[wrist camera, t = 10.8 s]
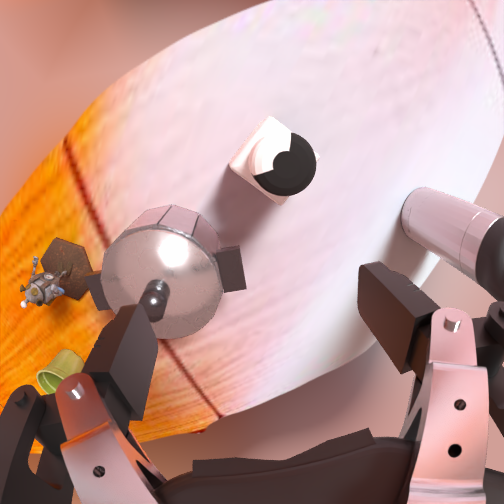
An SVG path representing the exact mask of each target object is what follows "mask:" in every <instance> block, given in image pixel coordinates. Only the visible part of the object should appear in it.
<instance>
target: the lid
mask: <svg viewBox="0 0 504 504" xmlns="http://www.w3.org/2000/svg"><path fill="white" fill-rule="evenodd" d="M102 287H103V292H104V295H105V298H106V300H107V302H108V304H109V306H110V307H111V309H112V311H113V312H114V313H115V314H116V315H117V313H118V311H119V309H120V307H121V306H124V305H131V304H139V303H140V304H142V305H143V307H144V308H145V311H146V313H147V316H148V318H149V321H150V323H151V326H152V328H153V331H154V333H155V336H156V338H160V339H176V338H182V337H185V336H188V335H191V334H193V333H195V332H197V331H198V330H200V329H201V328H203V327H204V326H205V325H206V324H207V323H208V322H209V321H210V319H211V318H212V316H213V315H214V313H215V311H216V309H217V306H218V302H219V278H218V274H217V271H216V268H215V266H214V264H213V262H212V260H211V259H210V257H209V256H208V254H207V253H206V252H205V251H204V250H203V249H202V248H201V247H200V246H199V245H198V244H197V243H196V242H194V241H193V240H192V239H190V238H188V237H186V236H185V235H183V234H180V233H178V232H175V231H171V230H168V229H161V228H149V229H142V230H139V231H135V232H133V233H131V234H129V235H127V236H126V237H124V238H123V239H121V240H120V241H119V242H118V243H117V244H116V245H115V246H114V247H113V249H112V250H111V251H110V252H109V254H108V256H107V258H106V260H105V262H104V265H103V270H102Z"/></svg>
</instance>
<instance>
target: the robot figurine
mask: <svg viewBox="0 0 504 504" xmlns="http://www.w3.org/2000/svg"><path fill="white" fill-rule="evenodd" d="M33 258H34V261H32V262H33V264H34V265H33V266H34V267H33V272H32V276H31V278H30V280H29V284H28V285H27V286H26V288H25V287H24V286H23V285H21V286H20V292H22V291H25V295H26V298H27V299H26V300H25V301H22V302H21V306H22V307H23V308H26V307H27V303H28V302H31V303H34V304H35V303H36V305H37V306H42V305H43V303H44V304H46V305H48V306H50V304H51V303H52V302H53V301H54V299H55V298H56V297H57V296H62V294H64V295H66V296H69V297H71V298H74V299H77V300H79V298H80V297H81V296H82V295H83V293H84V292H85V291H86V290H87V289H88V285H87V283H86V280H85V278H84V276H85V275H86V274H87V273H89V272H93V270H92V268H91V265H90V262H89V260H88V257H87V254H86V251H85V249H84V247H82V246H80V245H77V244H74V243H71V242H68V241H65V240H63V239H60V238H57V237H56V238H55V239H54V240H53V241H52V243H51V244H50V246H49V247H48V249H47V251H46V252H45V254H44V256H43V257H42V259H41V264H42V266H43V269H44V271H45V272H43V273H40V274H37V275H35V269H36V265H37V264H38V258H37V257H35V256H34V257H33ZM34 275H35V276H34Z"/></svg>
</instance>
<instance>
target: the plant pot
mask: <svg viewBox="0 0 504 504" xmlns="http://www.w3.org/2000/svg"><path fill="white" fill-rule="evenodd" d="M83 367H84V362H83V360H82V359H81V357H80V356H77V355H76V354H75V353H74V352H73V351H71V350H68V349H63V350H61V351H60V352H59V353H58V354H57V356H56V357H55V358H54V359H53V360H52V361H51V362H50V364H49V365H48V366H47V367H45V368H44V369H43V370H40V371H38V373H37V376H36V377H37V381H38V383H39V385H40V387H41V388H42V389H43V390H44V391H45V392H46V393H47V394H52V393H55V392H56V389H57V387H58V385H59V384H60V383H61V381H62V380H63V379H65V378H66V377H68V376H69V375H72V374H75V373H81V371H82V369H83Z"/></svg>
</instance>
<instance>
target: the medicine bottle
mask: <svg viewBox="0 0 504 504" xmlns="http://www.w3.org/2000/svg"><path fill="white" fill-rule="evenodd" d="M319 158H320V157H319V155H318V154H317V153H316V152H315V151H314V150H313V149H312V147H311V146H310V144H309V143H308V142H307V141H306V140H305V139H304V138H302V137H301V136H299V135H297V134H295V133H292V132H291V131H290V130H288V129H287V128H286V127H285V126H283V125H282V124H281V123H280V122H278V121H277V120H276V119H274V118H273V117H268V118H266V119H265V120H263V121H261V122H260V123H259V124H258V126H257V127H256V128H255V129H254V130H253V132H252V133H251V134H250V135H249V137H248V138H247V139H246V140H245V142H244V143H243V144H242V146H241V147H240V148H239V149H238V151H237V152H236V153H235V155H234V156H233V157H232V158H231V160H230V161H229V166H230V169H231V170H232V171H234V172H235V173H237V174H238V175H239V176H241V177H242V178H243V179H245V180H246V181H248V182H249V183H250V184H252V185H253V186H254V187H256V188H257V189H258V190H260V191H261V192H262V193H264V194H265V195H266V196H268V197H269V198H270V199H272V200H273V201H274V202H276V203H277V204H278V205H282V204H284V202H285V201H286V200H287V198H288V197H289V196H291V195H295V194H297V193H299V192H301V191H303V190H304V189H305V188H306V187H307V186H308V185H309V184H310V183H311V181H312V179H313V177H314V175H315V171H316V162H317V161H318V160H319Z"/></svg>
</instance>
